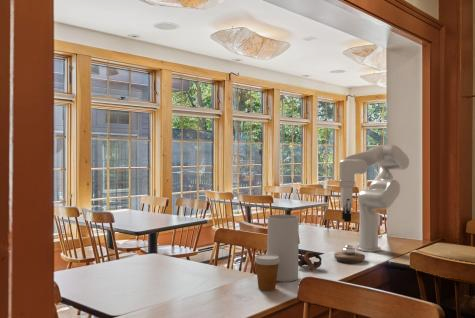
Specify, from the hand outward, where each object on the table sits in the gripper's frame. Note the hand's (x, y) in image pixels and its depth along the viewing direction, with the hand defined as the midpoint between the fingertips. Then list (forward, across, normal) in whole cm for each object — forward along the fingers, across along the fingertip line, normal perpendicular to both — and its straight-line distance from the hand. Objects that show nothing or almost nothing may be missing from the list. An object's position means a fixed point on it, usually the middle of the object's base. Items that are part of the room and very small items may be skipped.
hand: (346, 220), depth 230 cm
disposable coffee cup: (+18, +61, -38) cm, 74 cm away
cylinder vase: (+18, +46, -32) cm, 59 cm away
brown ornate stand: (+18, +28, -21) cm, 40 cm away
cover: (+15, +8, 0) cm, 17 cm away
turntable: (+18, +11, 0) cm, 21 cm away
